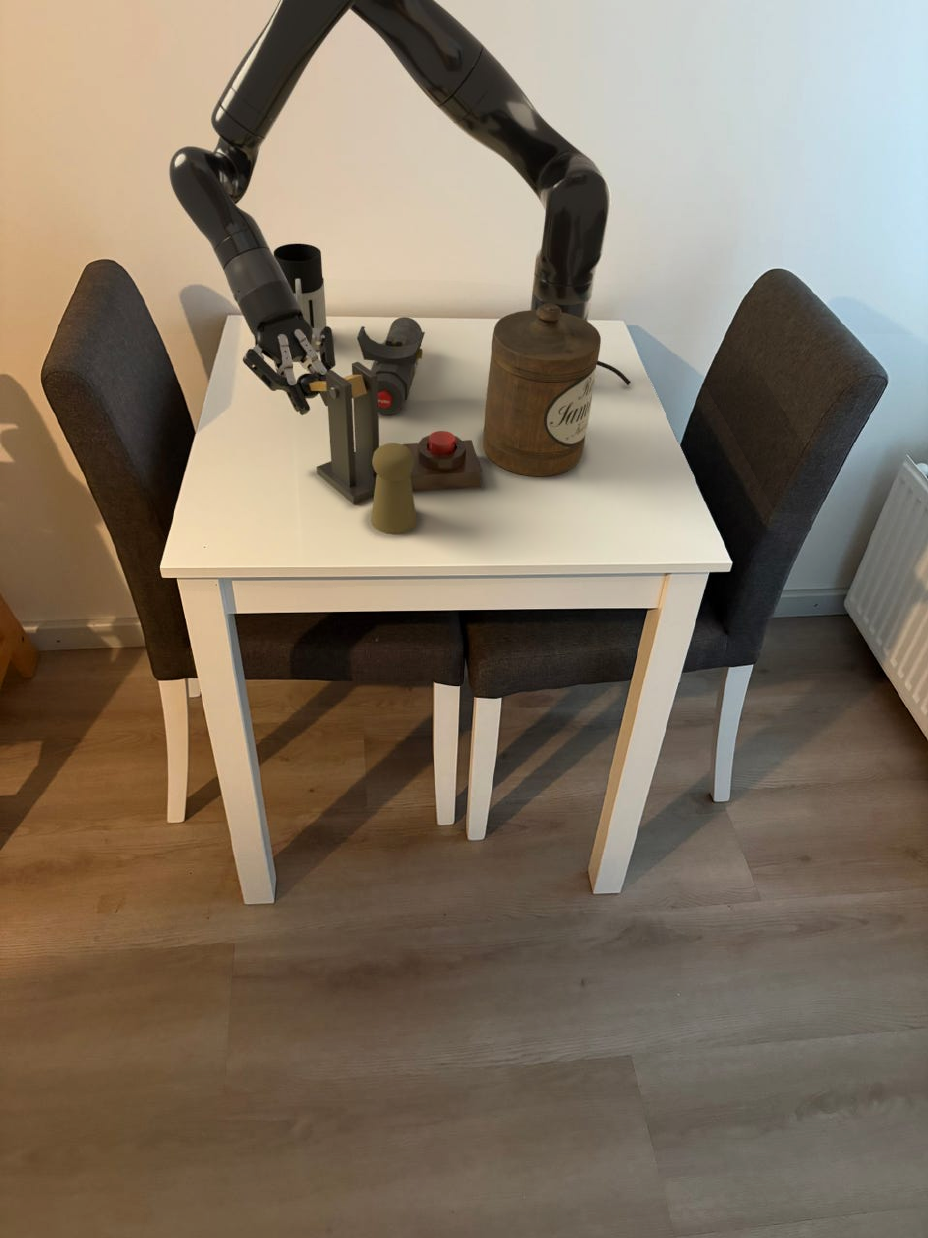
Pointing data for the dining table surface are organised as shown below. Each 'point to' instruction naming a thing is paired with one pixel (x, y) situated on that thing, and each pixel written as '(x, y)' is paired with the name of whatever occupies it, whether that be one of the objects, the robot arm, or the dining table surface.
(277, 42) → the robot arm
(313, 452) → the dining table surface
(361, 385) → the lever
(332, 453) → the switch bracket
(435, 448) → the button
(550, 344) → the wooden container
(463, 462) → the lamp base
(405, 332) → the laser sight
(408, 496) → the tan wooden game pawn
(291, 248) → the glass holder
